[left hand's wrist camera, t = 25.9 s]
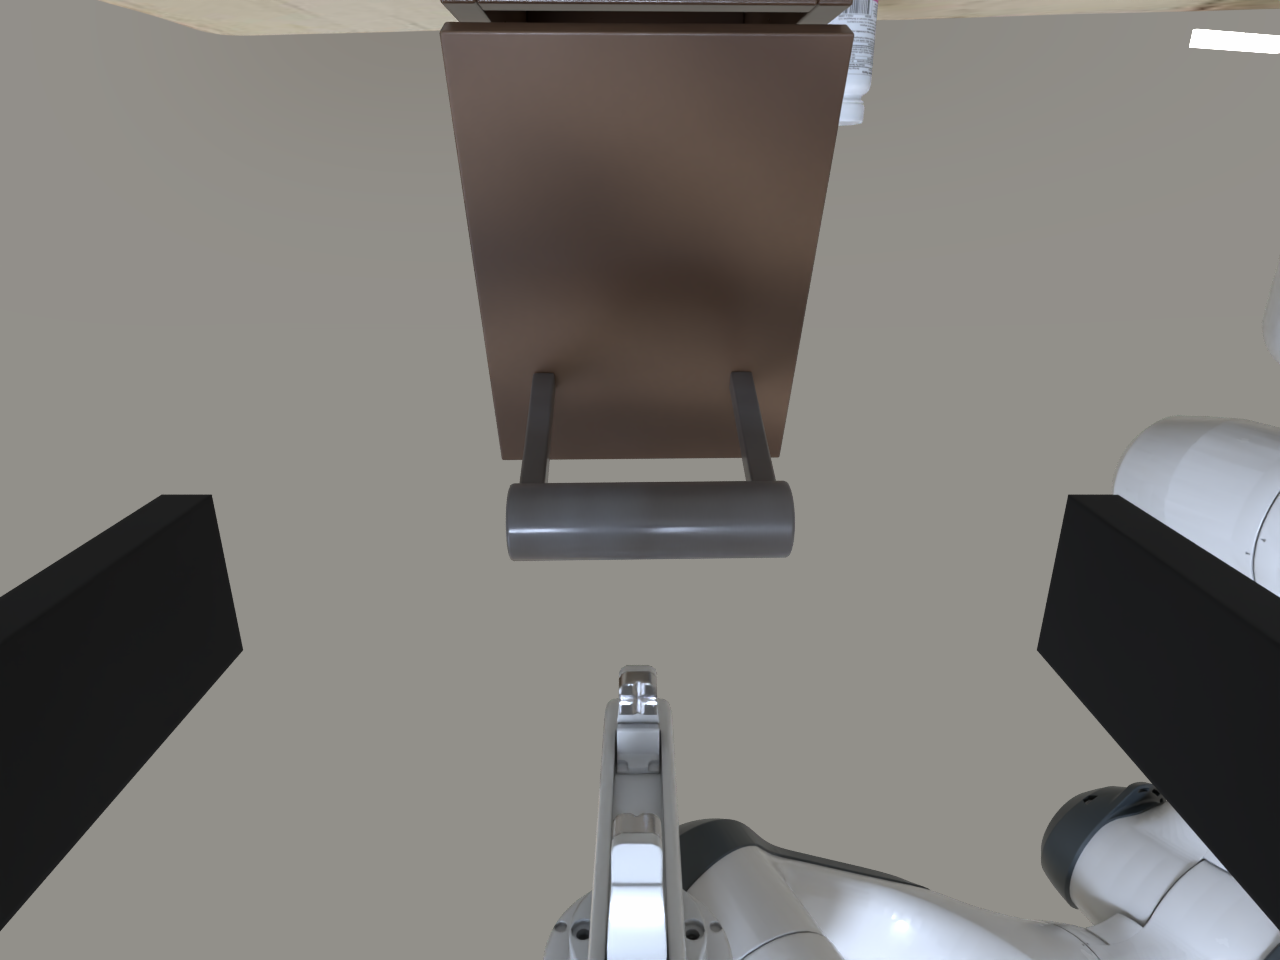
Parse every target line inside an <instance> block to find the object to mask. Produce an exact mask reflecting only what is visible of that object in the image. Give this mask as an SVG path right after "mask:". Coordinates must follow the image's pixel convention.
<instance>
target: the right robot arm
mask: <svg viewBox="0 0 1280 960" xmlns="http://www.w3.org/2000/svg"><path fill="white" fill-rule="evenodd" d="M1190 47H1195V48H1208V49H1222V50H1235V51H1249V52H1263V53H1279V52H1280V36H1274V35H1262V34H1250V33H1238V32H1226V31H1214V30H1202V29H1196V30H1193V33H1192V38H1191V42H1190ZM1262 332H1263V338H1264V342H1265V344H1266V347H1267V349H1268V351H1269V353H1270V354H1271V356H1272V357H1273V358H1274V359H1275V360H1276V361H1277V362H1278V363H1279V364H1280V256H1279V260H1278V264H1277V268H1276V271H1275V275H1274V279H1273V282H1272V286H1271V290H1270V293H1269V297H1268V301H1267V305H1266V308H1265V312H1264V316H1263V319H1262ZM1112 495H1120V496H1121V497H1123V498H1124V499H1126V500H1127V501H1129V502H1131V503H1132V504H1134V505H1135V506H1137V507H1138V508H1140V509H1142V510H1143V511H1145V512H1146V513H1148V514H1150V515H1151V516H1153V517H1154V518H1156V519H1157V520H1159V521H1161V522H1162V523H1164V524H1165V525H1167V526H1168V527H1170V528H1172V529H1173V530H1175V531H1176V532H1178V533H1179V534H1181V535H1183V536H1184V537H1186V538H1187V539H1189V540H1190V541H1192V542H1194V543H1195V544H1197V545H1198V546H1200V547H1201V548H1203V549H1205V550H1206V551H1208V552H1209V553H1211V554H1212V555H1214V556H1216V557H1217V558H1219V559H1220V560H1222V561H1223V562H1225V563H1227V564H1228V565H1230V566H1231V567H1233V568H1234V569H1236V570H1238V571H1239V572H1241V573H1242V574H1244V575H1245V576H1247V577H1249V578H1250V579H1252V580H1253V581H1255V582H1257V583H1258V584H1260V585H1261V586H1263V587H1264V588H1266V589H1268V590H1269V591H1271V592H1272V593H1274V594H1275V595H1277V596H1279V597H1280V428H1279V427H1275V426H1271V425H1267V424H1263V423H1259V422H1255V421H1251V420H1247V419H1236V418H1223V417H1209V416H1182V415H1177V416H1170V417H1167V418H1164V419H1161V420H1159V421H1157V422H1156V423H1154V424H1152V425H1151V426H1149V427H1148V428H1146V429H1145V430H1144V431H1142V432H1141V433H1140V434H1139V435H1138V436H1137V437H1136V438H1135V439H1133V441H1132V442H1131V443H1130V444H1129V445H1128V446H1127V448H1126V449H1125V451H1124V452H1123V454H1122V456H1121V457H1120V459H1119V462H1118V464H1117V466H1116V469H1115V472H1114V476H1113V485H1112ZM1041 864H1042V868H1043V870H1044V872H1045V874H1046V875H1047V877H1048V878H1049V880H1050V881H1051V883H1052V884H1053V886H1054V887H1055V888H1056V889H1057V891H1058V892H1059V893H1060V894H1061V896H1062V897H1063V898H1064V899H1065V900H1066V901H1067V903H1068V904H1069V905H1070V906H1071V907H1073V908H1075V909H1079V910H1080V911H1081V912H1082V913H1083V914H1084V915H1085V916H1086V917H1087V919H1088V920H1089V921H1090V922H1091V923H1092V924H1093V925H1094V926H1091V927H1087V928H1082V927H1078V926H1075V925H1070V924H1065V923H1059V922H1053V921H1043V920H1029V919H1023V918H1017V917H1012V916H1008V915H1004V914H1000V913H997V912H993V911H990V910H986V909H982V908H979V907H976V906H973V905H970V904H967V903H964V902H961V901H959V900H956V899H953V898H951V897H948V896H946V895H943V894H940V893H937V892H934V891H931V890H929V889H928V888H925V887H923V886H920V885H917V884H915V883H912V882H909V881H907V880H904V879H902V878H899V877H896V876H893V875H890V874H886V873H883V872H879V871H875V870H871V869H867V868H863V867H859V866H855V865H851V864H846V863H842V862H838V861H833V860H829V859H825V858H821V857H816V856H812V855H808V854H803V853H799V852H795V851H791V850H787V849H783V848H780V847H777V846H774V845H772V844H770V843H768V842H766V841H765V840H763V839H762V838H761V837H760V836H758V835H757V834H756V833H755V832H754V831H753V830H751V829H750V828H749V827H747V826H746V825H745V824H743V823H741V822H738V821H735V820H730V819H703V820H696V821H692V822H688V823H685V824H682V825H679V821H678V804H677V788H676V770H675V753H674V736H673V720H672V711H671V707H670V704H669V702H668V701H666V700H664V699H660V698H657V672H656V670H655V668H653V667H652V666H649V665H626V666H624V667H623V668H621V670H620V672H619V698H617V699H612V700H610V701H609V702H608V704H607V707H606V710H605V719H604V732H603V746H602V760H601V774H600V789H599V803H598V817H597V832H596V846H595V860H594V875H593V889H592V891H591V892H589V893H587V894H586V895H584V896H583V897H581V898H580V899H578V900H577V901H576V902H575V903H573V904H572V905H571V906H570V907H569V908H568V909H567V910H566V911H565V912H564V913H563V915H562V916H561V917H560V919H559V920H558V921H557V923H556V925H555V926H554V928H553V930H552V932H551V934H550V936H549V939H548V941H547V944H546V948H545V952H544V958H543V960H1280V931H1279V930H1278V929H1277V927H1276V926H1275V925H1274V924H1273V923H1272V922H1271V920H1270V919H1269V918H1268V917H1267V916H1266V915H1265V913H1264V912H1263V911H1262V910H1261V909H1260V908H1259V907H1258V905H1257V904H1256V903H1255V902H1254V901H1253V900H1252V898H1251V897H1250V896H1249V895H1248V894H1247V893H1246V891H1245V890H1244V889H1243V888H1242V887H1241V886H1240V885H1239V883H1238V882H1237V881H1236V880H1235V879H1234V878H1233V876H1232V875H1231V874H1230V873H1229V872H1228V871H1227V869H1226V868H1225V867H1224V866H1223V865H1222V864H1221V863H1220V861H1219V860H1218V859H1217V858H1216V857H1215V856H1214V854H1213V853H1212V852H1211V851H1210V850H1209V849H1208V848H1207V846H1206V845H1205V844H1204V843H1203V842H1202V841H1201V839H1200V838H1199V837H1198V836H1197V835H1196V834H1195V832H1194V831H1193V830H1192V829H1191V828H1190V827H1189V826H1188V824H1187V823H1186V822H1185V821H1184V820H1183V819H1182V817H1181V816H1180V815H1179V814H1178V813H1177V812H1176V810H1175V809H1174V808H1173V807H1172V806H1171V805H1170V804H1169V802H1168V801H1166V799H1165V798H1164V797H1163V795H1162V794H1161V793H1160V792H1159V791H1158V790H1157V788H1156V787H1155V786H1154V785H1153V784H1150V783H1146V782H1137V783H1133V784H1131V785H1129V786H1128V787H1127V788H1126V787H1116V786H1110V787H1105V788H1100V789H1095V790H1092V791H1088V792H1085V793H1081V794H1079V795H1077V796H1075V797H1073V798H1072V799H1071V800H1069V801H1068V802H1067V803H1066V804H1064V805H1063V806H1062V807H1061V808H1060V810H1059V811H1058V812H1057V813H1056V814H1055V816H1054V817H1053V818H1052V820H1051V822H1050V823H1049V825H1048V827H1047V829H1046V831H1045V834H1044V837H1043V840H1042V845H1041Z"/></svg>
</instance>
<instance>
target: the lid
mask: <svg viewBox="0 0 1280 960" xmlns="http://www.w3.org/2000/svg"><path fill="white" fill-rule="evenodd" d="M440 39H441V46H442V53H443V60H444V66H445V73H446V80H447V87H448V94H449V101H450V107H451V114H452V121H453V128H454V135H455V142H456V148H457V155H458V162H459V169H460V176H461V183H462V189H463V196H464V203H465V210H466V217H467V224H468V230H469V237H470V244H471V251H472V258H473V264H474V271H475V278H476V285H477V292H478V299H479V306H480V312H481V319H482V326H483V333H484V340H485V346H486V353H487V360H488V367H489V374H490V381H491V387H492V394H493V401H494V408H495V415H496V422H497V428H498V435H499V442H500V449H501V456H502V459H503V460H522V468H521V476H520V483H518V484H512V485H511V486H510V488H509V491H508V496H507V506H506V537H507V547H508V553H509V556H510V558H511V560H513V561H543V560H620V559H621V560H623V559H701V558H777V557H787V556H789V555H790V553H791V550H792V546H793V542H794V532H795V513H794V502H793V496H792V492H791V489H790V486H789V484H788V483H787V482H785V481H776V479H775V475H774V470H773V466H772V461H771V457H779V456H780V450H781V445H782V439H783V433H784V428H785V422H786V417H787V411H788V405H789V400H790V394H791V389H792V383H793V377H794V372H795V366H796V361H797V355H798V349H799V343H800V338H801V332H802V327H803V321H804V316H805V310H806V304H807V299H808V293H809V288H810V282H811V276H812V271H813V265H814V260H815V254H816V248H817V243H818V237H819V231H820V226H821V220H822V214H823V209H824V203H825V198H826V192H827V187H828V181H829V175H830V170H831V164H832V158H833V153H834V147H835V142H836V136H837V130H838V125H839V119H840V114H841V108H842V102H843V97H844V91H845V86H846V80H847V74H848V69H849V63H850V57H851V52H852V46H853V41H854V33H853V32H852V30H851V29H850V28H849V27H848V26H847V25H846V24H697V23H525V22H446V23H445V24H444V25H443V27H442V29H441V31H440ZM659 458H742V461H743V466H744V472H745V477H746V481H718V482H717V481H716V482H618V483H617V482H616V483H548V472H549V461H550V459H551V460H552V459H659Z"/></svg>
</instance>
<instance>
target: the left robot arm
mask: <svg viewBox="0 0 1280 960" xmlns="http://www.w3.org/2000/svg"><path fill="white" fill-rule="evenodd" d="M242 651H243V647H242V642H241V637H240V632H239V628H238V623H237V618H236V613H235V608H234V603H233V598H232V593H231V588H230V583H229V578H228V573H227V568H226V563H225V558H224V553H223V548H222V543H221V539H220V533H219V529H218V524H217V519H216V514H215V509H214V504H213V499H212V495H160V496H159V497H157V498H156V499H154V500H153V501H151V502H149V503H148V504H146V505H145V506H143V507H141V508H140V509H138V510H137V511H135V512H134V513H132V514H131V515H129V516H127V517H126V518H124V519H123V520H121V521H120V522H118V523H116V524H115V525H113V526H112V527H110V528H109V529H107V530H105V531H104V532H102V533H101V534H99V535H97V536H96V537H94V538H93V539H91V540H90V541H88V542H86V543H85V544H83V545H82V546H80V547H79V548H77V549H75V550H74V551H72V552H71V553H69V554H68V555H66V556H64V557H63V558H61V559H60V560H58V561H57V562H55V563H53V564H52V565H50V566H49V567H47V568H46V569H44V570H42V571H41V572H39V573H38V574H36V575H34V576H33V577H31V578H30V579H28V580H27V581H25V582H23V583H22V584H20V585H19V586H17V587H16V588H14V589H12V590H11V591H9V592H8V593H6V594H5V595H3V596H2V597H0V931H1V930H2V929H3V927H4V926H5V925H6V924H7V923H8V922H9V920H10V919H11V918H12V917H13V916H14V915H15V913H16V912H17V911H18V910H19V909H20V908H21V907H22V905H23V904H24V903H25V902H26V901H27V900H28V898H29V897H30V896H31V895H32V894H33V893H34V891H35V890H36V889H37V888H38V887H39V886H40V885H41V883H42V882H43V881H44V880H45V879H46V877H47V876H48V875H49V874H50V873H51V872H52V871H53V869H54V868H55V867H56V866H57V865H58V864H59V862H60V861H61V860H62V859H63V858H64V857H65V856H66V854H67V853H68V852H69V851H70V850H71V849H72V848H73V846H74V845H75V844H76V843H77V842H78V841H79V839H80V838H81V837H82V836H83V835H84V834H85V832H86V831H87V830H88V829H89V828H90V827H91V826H92V824H93V823H94V822H95V821H96V820H97V819H98V817H99V816H100V815H101V814H102V813H103V812H104V810H105V809H106V808H107V807H108V806H109V805H110V804H111V802H112V801H113V800H114V799H115V798H116V797H117V795H118V794H119V793H120V792H121V791H122V790H123V788H124V787H125V786H126V785H127V784H128V783H129V782H130V780H131V779H132V778H133V777H134V776H135V775H136V773H137V772H138V771H139V770H140V769H141V768H142V766H143V765H144V764H145V763H146V762H147V761H148V759H149V758H150V757H151V756H152V755H153V754H154V753H155V751H156V750H157V749H158V748H159V747H160V746H161V744H162V743H163V742H164V741H165V740H166V739H167V737H168V736H169V735H170V734H171V733H172V732H173V731H174V729H175V728H176V727H177V726H178V725H179V724H180V723H181V721H182V720H183V719H184V718H185V717H186V716H187V714H188V713H189V712H190V711H191V710H192V708H193V707H194V706H195V705H196V704H197V703H198V702H199V701H200V699H201V698H202V697H203V696H204V695H205V694H206V692H207V691H208V690H209V689H210V688H211V687H212V685H213V684H214V683H215V682H216V681H217V680H218V679H219V677H220V676H221V675H222V674H223V673H224V671H225V670H226V669H227V668H228V667H229V666H230V665H231V663H232V662H233V661H234V660H235V659H236V658H237V657H238V655H239V654H240V653H241V652H242ZM1037 651H1038V652H1039V653H1040V654H1041V655H1042V657H1043V658H1044V659H1045V660H1046V661H1047V662H1048V663H1049V665H1050V666H1051V667H1052V668H1053V669H1054V670H1055V672H1056V673H1057V674H1058V675H1059V676H1060V677H1061V679H1062V680H1063V681H1064V682H1065V683H1066V684H1067V685H1068V687H1069V688H1070V689H1071V690H1072V691H1073V692H1074V694H1075V695H1076V696H1077V697H1078V698H1079V699H1080V701H1081V702H1082V703H1083V704H1084V705H1085V706H1086V707H1087V709H1088V710H1089V711H1090V712H1091V713H1092V714H1093V716H1094V717H1095V718H1096V719H1097V720H1098V721H1099V722H1100V724H1101V725H1102V726H1103V727H1104V728H1105V729H1106V731H1107V732H1108V733H1109V734H1110V735H1111V736H1112V738H1113V739H1114V740H1115V741H1116V742H1117V743H1118V745H1119V746H1120V747H1121V748H1122V749H1123V750H1124V751H1125V753H1126V754H1127V755H1128V756H1129V757H1130V758H1131V760H1132V761H1133V762H1134V763H1135V764H1136V765H1137V766H1138V768H1139V769H1140V770H1141V771H1142V772H1143V773H1144V775H1145V776H1146V777H1147V778H1148V779H1149V780H1150V782H1151V783H1152V784H1153V785H1154V786H1155V787H1156V788H1157V790H1158V791H1159V792H1160V793H1161V794H1162V795H1163V797H1164V798H1165V799H1166V800H1167V801H1168V802H1169V804H1170V805H1171V806H1172V807H1173V808H1174V809H1175V810H1176V812H1177V813H1178V814H1179V815H1180V816H1181V817H1182V819H1183V820H1184V821H1185V822H1186V823H1187V824H1188V826H1189V827H1190V828H1191V829H1192V830H1193V831H1194V832H1195V834H1196V835H1197V836H1198V837H1199V838H1200V839H1201V841H1202V842H1203V843H1204V844H1205V845H1206V846H1207V848H1208V849H1209V850H1210V851H1211V852H1212V853H1213V854H1214V856H1215V857H1216V858H1217V859H1218V860H1219V861H1220V863H1221V864H1222V865H1223V866H1224V867H1225V868H1226V869H1227V871H1228V872H1229V873H1230V874H1231V875H1232V876H1233V878H1234V879H1235V880H1236V881H1237V882H1238V883H1239V885H1240V886H1241V887H1242V888H1243V889H1244V890H1245V891H1246V893H1247V894H1248V895H1249V896H1250V897H1251V898H1252V900H1253V901H1254V902H1255V903H1256V904H1257V905H1258V907H1259V908H1260V909H1261V910H1262V911H1263V912H1264V913H1265V915H1266V916H1267V917H1268V918H1269V919H1270V920H1271V922H1272V923H1273V924H1274V925H1275V926H1276V927H1277V929H1278V930H1279V931H1280V597H1279V596H1277V595H1275V594H1274V593H1272V592H1271V591H1269V590H1268V589H1266V588H1264V587H1263V586H1261V585H1260V584H1258V583H1257V582H1255V581H1253V580H1252V579H1250V578H1249V577H1247V576H1245V575H1244V574H1242V573H1241V572H1239V571H1238V570H1236V569H1234V568H1233V567H1231V566H1230V565H1228V564H1227V563H1225V562H1223V561H1222V560H1220V559H1219V558H1217V557H1216V556H1214V555H1212V554H1211V553H1209V552H1208V551H1206V550H1205V549H1203V548H1201V547H1200V546H1198V545H1197V544H1195V543H1194V542H1192V541H1190V540H1189V539H1187V538H1186V537H1184V536H1183V535H1181V534H1179V533H1178V532H1176V531H1175V530H1173V529H1172V528H1170V527H1168V526H1167V525H1165V524H1164V523H1162V522H1161V521H1159V520H1157V519H1156V518H1154V517H1153V516H1151V515H1150V514H1148V513H1146V512H1145V511H1143V510H1142V509H1140V508H1138V507H1137V506H1135V505H1134V504H1132V503H1131V502H1129V501H1127V500H1126V499H1124V498H1123V497H1121V496H1120V495H1068V499H1067V504H1066V509H1065V514H1064V519H1063V524H1062V529H1061V534H1060V538H1059V543H1058V548H1057V553H1056V558H1055V563H1054V568H1053V573H1052V578H1051V583H1050V588H1049V593H1048V598H1047V603H1046V608H1045V613H1044V618H1043V623H1042V627H1041V632H1040V637H1039V642H1038V647H1037Z"/></svg>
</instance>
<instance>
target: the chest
mask: <svg viewBox="0 0 1280 960" xmlns="http://www.w3.org/2000/svg"><path fill="white" fill-rule="evenodd" d="M440 1H441V3H442V4H443V5H444V6H445V7H446V8H447V9H448V10H449V11H450V12H451V13H452V15H453V16H454V17H455V18H456V19H457V20H458V21H459V22H525V23H697V24H828V23H830V22H831V21H832V20H834V19H835V18H836V17H837V16H839V15H840V14H841V13H842V12H844V11H845V10H846V9H848V8H849V7H850V6H851V5H852V4H853V0H440Z"/></svg>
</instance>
